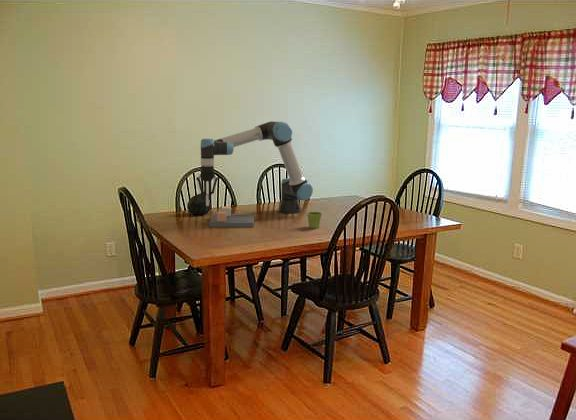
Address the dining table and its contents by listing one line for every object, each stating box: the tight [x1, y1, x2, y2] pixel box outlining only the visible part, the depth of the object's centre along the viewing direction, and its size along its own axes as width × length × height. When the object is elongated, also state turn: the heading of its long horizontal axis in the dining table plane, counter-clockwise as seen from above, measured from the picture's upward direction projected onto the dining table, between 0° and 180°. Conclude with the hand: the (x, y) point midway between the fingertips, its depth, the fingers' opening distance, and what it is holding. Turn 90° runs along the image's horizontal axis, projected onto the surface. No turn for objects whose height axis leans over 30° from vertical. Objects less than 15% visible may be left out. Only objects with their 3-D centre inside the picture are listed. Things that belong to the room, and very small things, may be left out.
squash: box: [186, 192, 211, 216], centre depth 330 cm, size 14×15×15 cm
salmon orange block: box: [216, 210, 226, 222], centre depth 299 cm, size 5×6×5 cm
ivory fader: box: [221, 206, 232, 216], centre depth 314 cm, size 5×6×5 cm
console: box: [208, 213, 255, 229], centre depth 308 cm, size 26×24×3 cm
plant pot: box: [306, 211, 323, 229], centre depth 300 cm, size 9×9×9 cm
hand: (207, 205), depth 297 cm, fingers closed
